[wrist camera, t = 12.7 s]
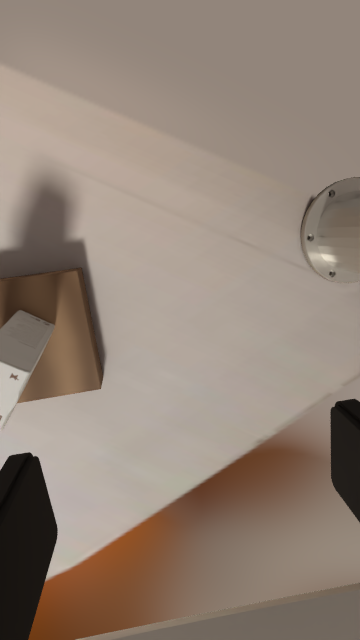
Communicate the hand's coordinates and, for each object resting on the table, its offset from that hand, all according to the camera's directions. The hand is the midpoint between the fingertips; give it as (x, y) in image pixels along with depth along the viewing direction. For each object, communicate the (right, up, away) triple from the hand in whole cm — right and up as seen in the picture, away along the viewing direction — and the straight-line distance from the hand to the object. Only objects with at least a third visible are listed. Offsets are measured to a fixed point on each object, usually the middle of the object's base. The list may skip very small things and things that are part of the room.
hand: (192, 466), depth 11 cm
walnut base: (-18, +3, +31) cm, 36 cm away
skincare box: (-17, +2, +27) cm, 32 cm away
